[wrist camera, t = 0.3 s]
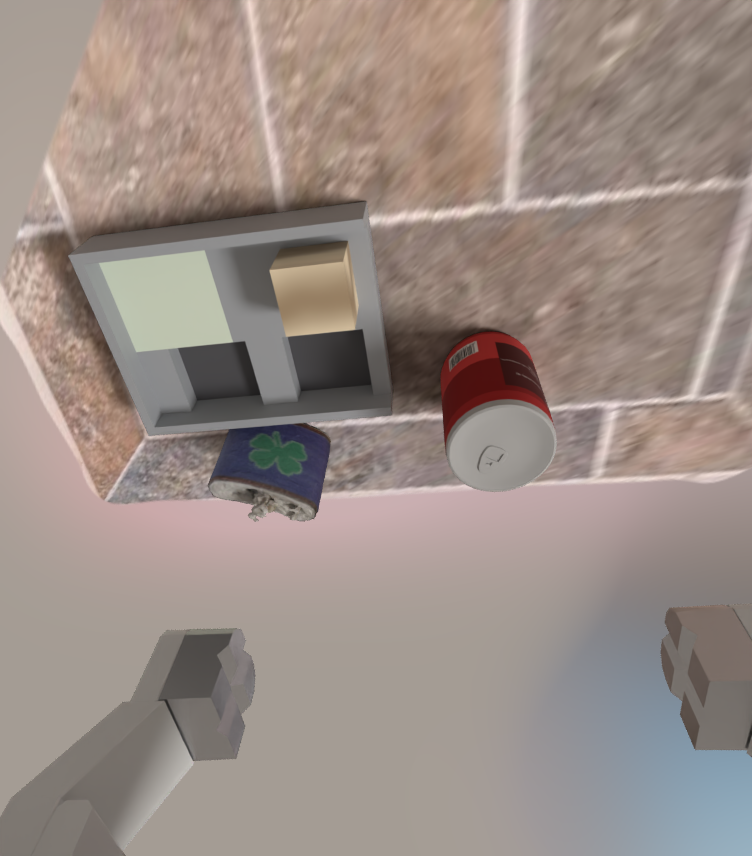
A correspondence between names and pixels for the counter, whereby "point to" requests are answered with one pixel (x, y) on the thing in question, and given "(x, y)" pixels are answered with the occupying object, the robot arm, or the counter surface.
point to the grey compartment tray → (234, 323)
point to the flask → (273, 469)
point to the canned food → (495, 414)
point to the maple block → (315, 288)
